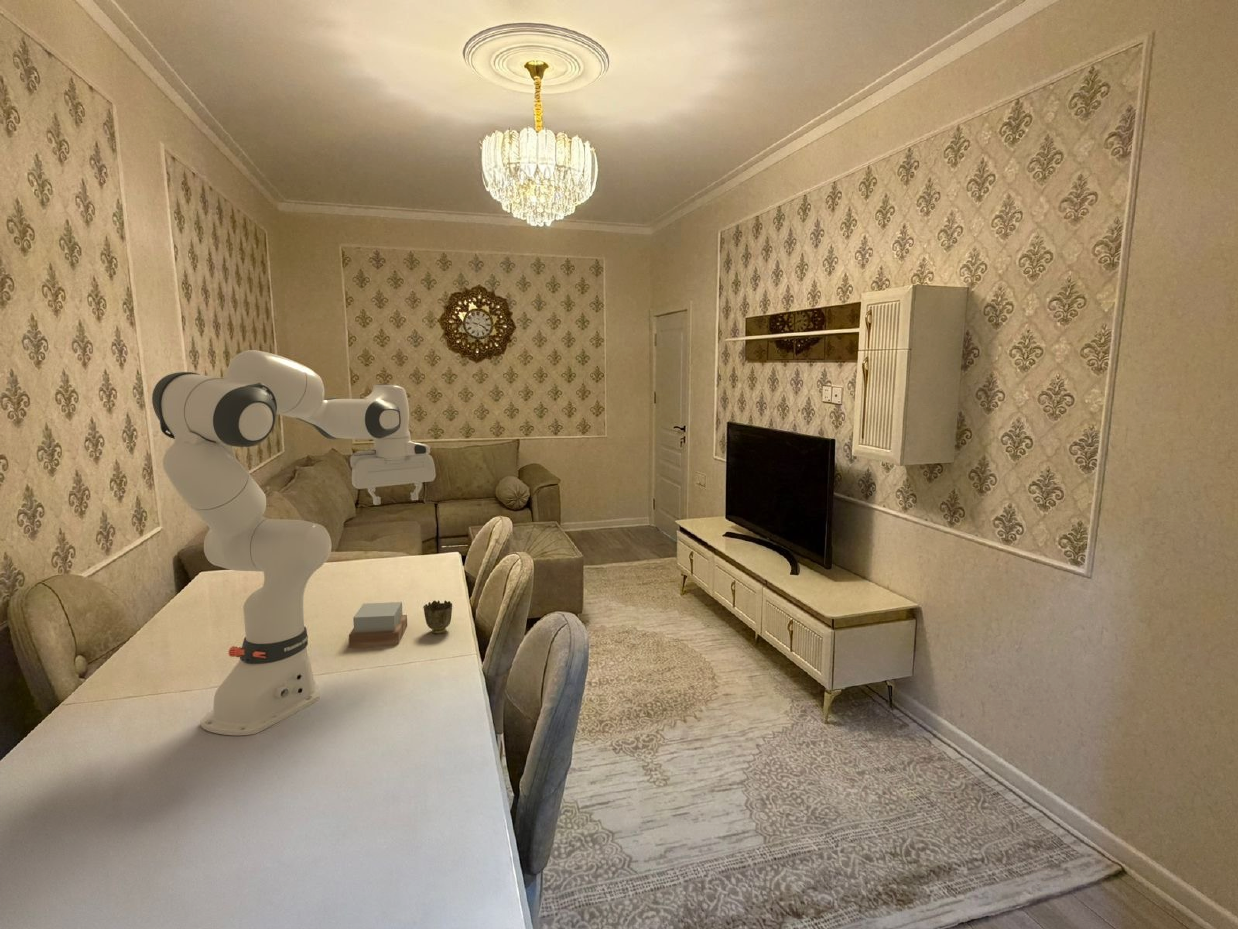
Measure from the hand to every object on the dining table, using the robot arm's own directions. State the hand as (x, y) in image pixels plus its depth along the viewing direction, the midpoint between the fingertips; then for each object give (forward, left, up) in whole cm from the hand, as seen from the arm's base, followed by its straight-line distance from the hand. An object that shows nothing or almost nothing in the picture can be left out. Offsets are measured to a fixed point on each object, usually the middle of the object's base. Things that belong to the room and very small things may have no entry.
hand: (396, 502), depth 162 cm
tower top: (-2, +6, -33) cm, 33 cm away
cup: (+4, -8, -36) cm, 38 cm away
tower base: (-2, +6, -37) cm, 37 cm away
